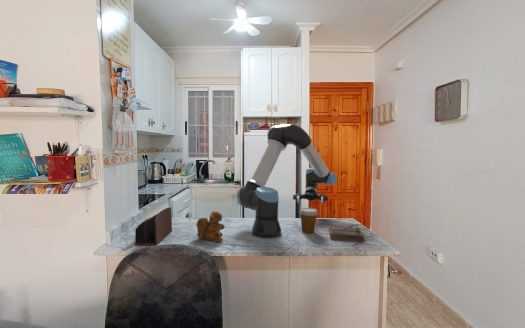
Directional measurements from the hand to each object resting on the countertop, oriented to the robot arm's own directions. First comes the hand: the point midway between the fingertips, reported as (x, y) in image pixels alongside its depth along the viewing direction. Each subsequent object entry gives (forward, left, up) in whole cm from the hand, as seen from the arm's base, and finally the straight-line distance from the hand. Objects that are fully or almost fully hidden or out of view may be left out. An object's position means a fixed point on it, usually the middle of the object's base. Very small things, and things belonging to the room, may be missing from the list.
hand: (309, 200), depth 150 cm
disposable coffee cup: (-5, -9, -15) cm, 18 cm away
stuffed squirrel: (-56, -4, -15) cm, 58 cm away
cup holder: (+11, -19, -15) cm, 26 cm away
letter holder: (-82, +4, -15) cm, 83 cm away
